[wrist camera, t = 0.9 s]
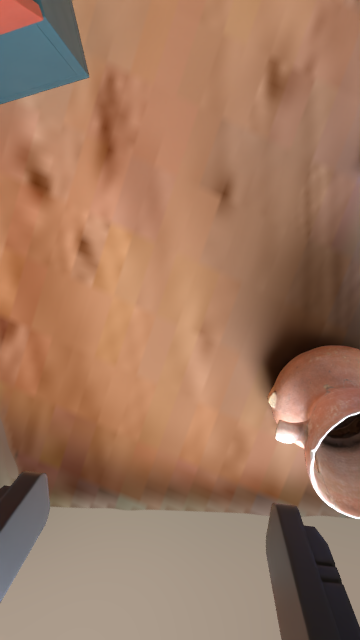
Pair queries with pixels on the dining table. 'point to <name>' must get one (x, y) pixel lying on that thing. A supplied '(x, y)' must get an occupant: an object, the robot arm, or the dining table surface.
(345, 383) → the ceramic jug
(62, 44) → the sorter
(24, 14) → the sorter lid
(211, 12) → the dining table surface
